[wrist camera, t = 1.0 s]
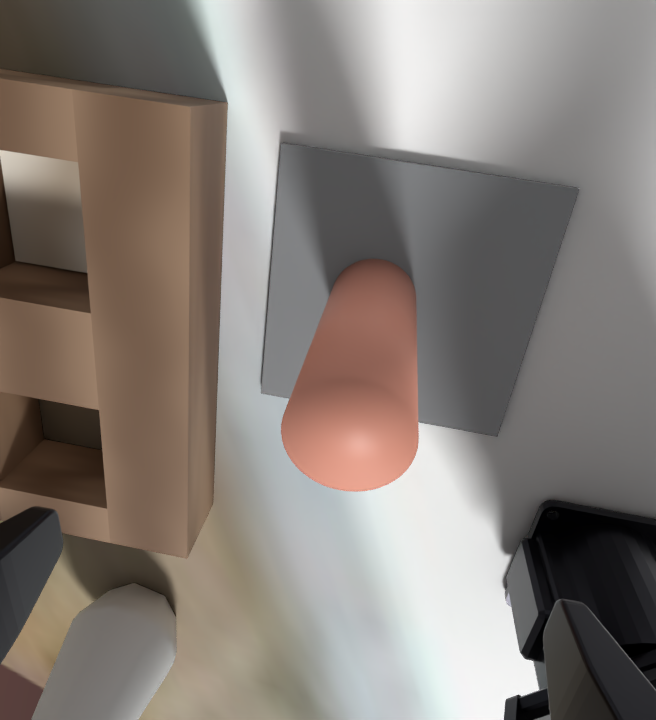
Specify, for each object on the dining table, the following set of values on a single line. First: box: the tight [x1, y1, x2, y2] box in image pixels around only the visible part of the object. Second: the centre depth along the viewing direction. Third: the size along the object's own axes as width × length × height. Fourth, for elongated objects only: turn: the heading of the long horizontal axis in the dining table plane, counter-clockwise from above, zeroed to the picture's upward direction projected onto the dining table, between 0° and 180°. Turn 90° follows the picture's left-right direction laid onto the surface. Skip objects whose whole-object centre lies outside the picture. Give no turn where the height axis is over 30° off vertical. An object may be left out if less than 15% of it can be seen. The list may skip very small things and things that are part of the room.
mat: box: [261, 143, 579, 436], centre depth 21 cm, size 10×10×1 cm
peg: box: [281, 259, 418, 491], centre depth 17 cm, size 3×3×9 cm
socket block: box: [0, 69, 228, 559], centre depth 22 cm, size 12×18×4 cm, turn 173°
